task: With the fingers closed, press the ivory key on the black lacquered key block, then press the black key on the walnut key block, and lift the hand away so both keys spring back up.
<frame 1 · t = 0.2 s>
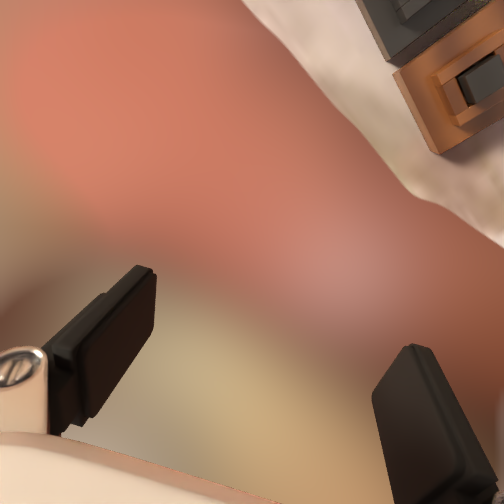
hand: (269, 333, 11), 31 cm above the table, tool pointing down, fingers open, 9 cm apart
block walnut: (458, 83, 31), on the table
key ebony: (483, 80, 26), point 5 cm above the table, slide at 0.1 cm
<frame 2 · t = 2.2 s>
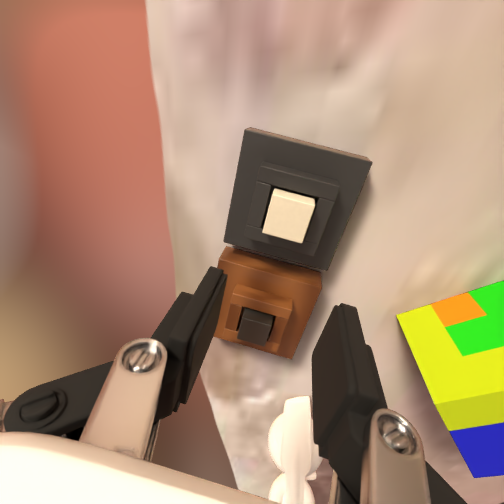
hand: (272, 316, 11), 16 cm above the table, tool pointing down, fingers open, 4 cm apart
block walnut: (261, 296, 31), on the table
headset: (296, 433, 42), on the table
puzzle toy: (463, 332, 29), on the table
key ivory: (288, 215, 22), point 4 cm above the table, slide at 0.1 cm
key ebony: (254, 327, 27), point 5 cm above the table, slide at 0.1 cm
block black: (290, 199, 26), on the table
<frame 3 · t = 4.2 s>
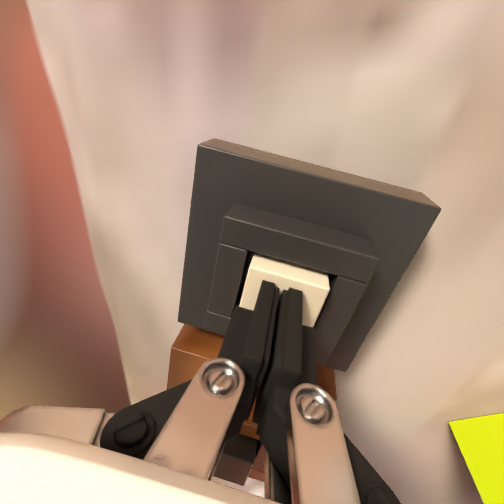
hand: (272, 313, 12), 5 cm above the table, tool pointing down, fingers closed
block walnut: (245, 383, 21), on the table
key ivory: (280, 296, 12), point 4 cm above the table, slide at -0.6 cm, touching gripper
key ebony: (228, 454, 17), point 5 cm above the table, slide at 0.1 cm
block black: (286, 255, 16), on the table
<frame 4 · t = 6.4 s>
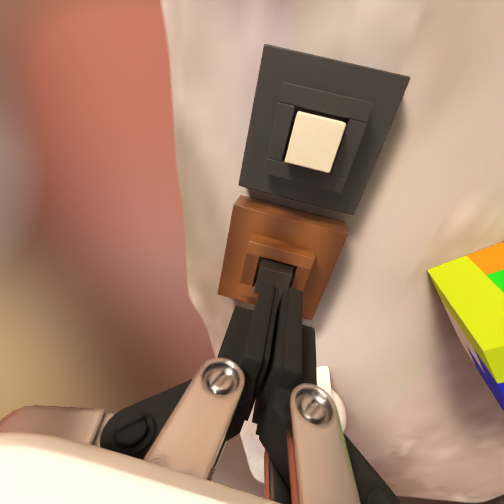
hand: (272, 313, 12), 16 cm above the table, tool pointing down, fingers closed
block walnut: (278, 253, 29), on the table
headset: (312, 408, 40), on the table
puzzle toy: (501, 288, 27), on the table
key ivory: (313, 142, 19), point 4 cm above the table, slide at 0.1 cm
key ebony: (273, 279, 25), point 5 cm above the table, slide at 0.1 cm
block black: (313, 135, 23), on the table
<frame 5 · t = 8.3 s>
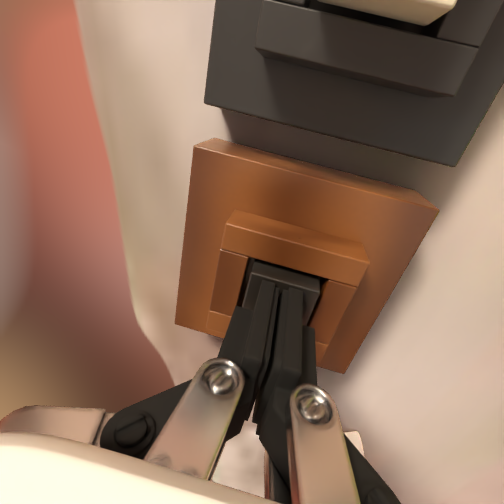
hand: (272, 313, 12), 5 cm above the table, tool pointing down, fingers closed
block walnut: (285, 251, 16), on the table
key ebony: (278, 298, 12), point 4 cm above the table, slide at -0.4 cm, touching gripper
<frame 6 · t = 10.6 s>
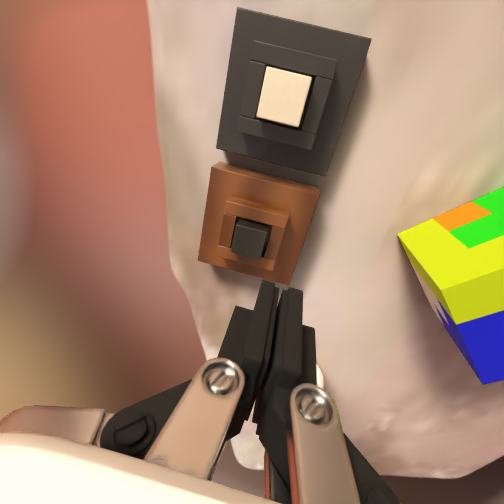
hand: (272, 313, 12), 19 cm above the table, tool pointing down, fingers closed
block walnut: (257, 220, 30), on the table
puzzle toy: (466, 251, 28), on the table
key ivory: (283, 98, 21), point 4 cm above the table, slide at 0.1 cm
key ebony: (249, 239, 26), point 5 cm above the table, slide at 0.1 cm
block black: (286, 100, 25), on the table
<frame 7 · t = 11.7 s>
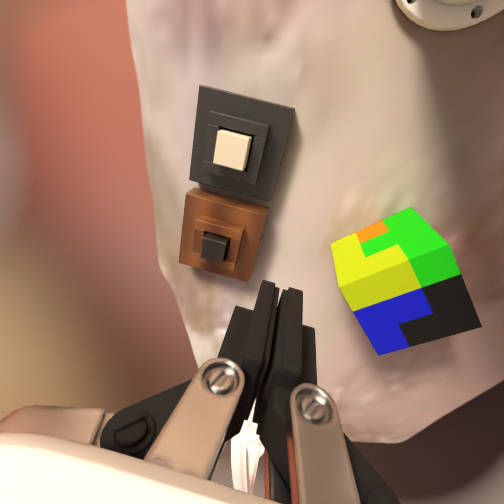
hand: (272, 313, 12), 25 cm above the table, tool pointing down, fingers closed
block walnut: (224, 232, 38), on the table
headset: (262, 362, 49), on the table
puzzle toy: (384, 257, 36), on the table
key ivory: (232, 150, 29), point 4 cm above the table, slide at 0.1 cm
key ebony: (214, 247, 34), point 5 cm above the table, slide at 0.1 cm
block black: (241, 144, 33), on the table
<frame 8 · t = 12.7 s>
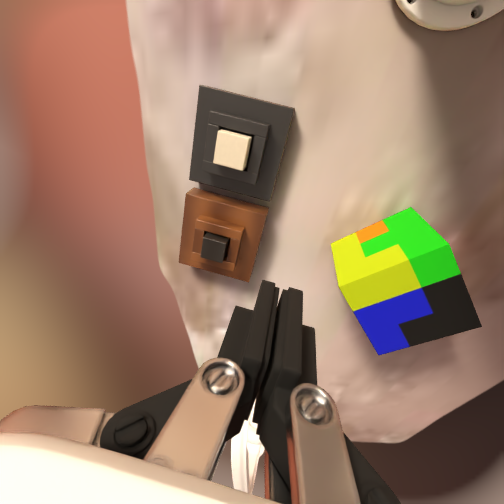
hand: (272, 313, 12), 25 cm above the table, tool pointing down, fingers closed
block walnut: (224, 232, 38), on the table
headset: (262, 362, 49), on the table
puzzle toy: (384, 257, 36), on the table
key ivory: (232, 150, 29), point 4 cm above the table, slide at 0.1 cm
key ebony: (214, 247, 34), point 5 cm above the table, slide at 0.1 cm
block black: (241, 144, 33), on the table
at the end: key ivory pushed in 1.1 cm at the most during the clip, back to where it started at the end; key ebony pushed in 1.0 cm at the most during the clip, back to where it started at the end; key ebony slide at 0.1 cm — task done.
